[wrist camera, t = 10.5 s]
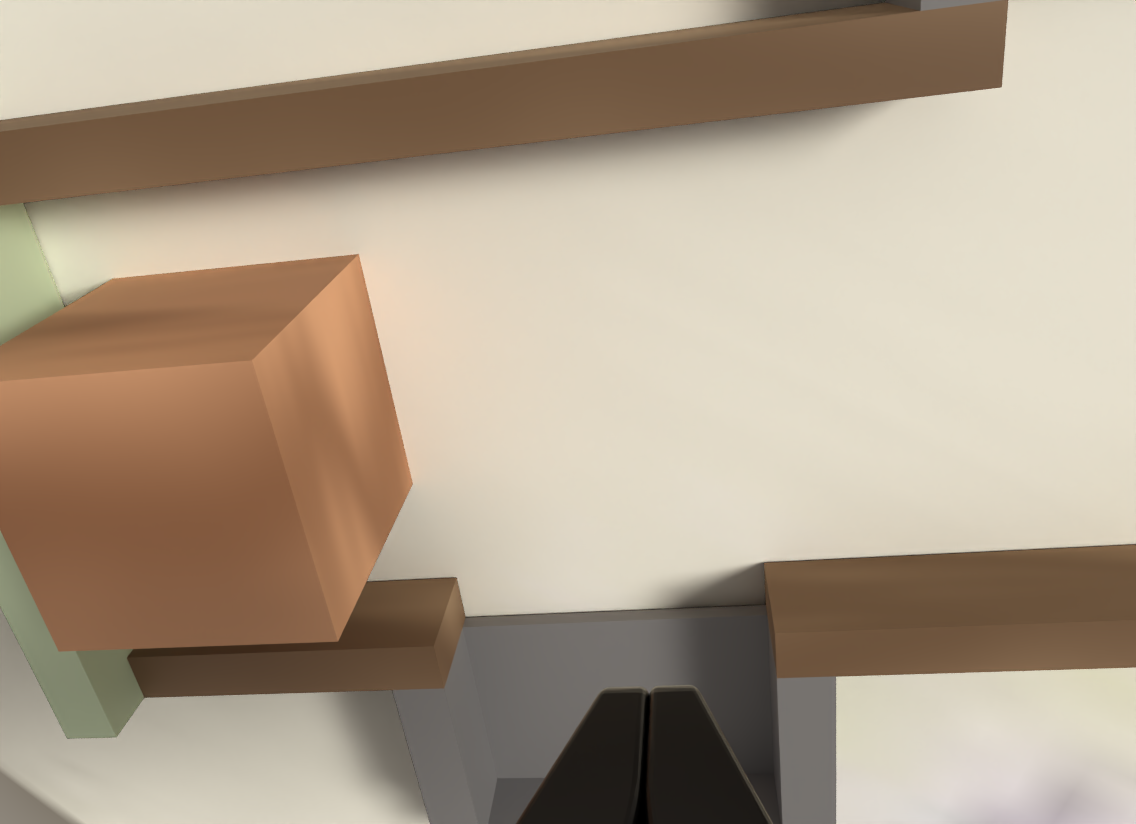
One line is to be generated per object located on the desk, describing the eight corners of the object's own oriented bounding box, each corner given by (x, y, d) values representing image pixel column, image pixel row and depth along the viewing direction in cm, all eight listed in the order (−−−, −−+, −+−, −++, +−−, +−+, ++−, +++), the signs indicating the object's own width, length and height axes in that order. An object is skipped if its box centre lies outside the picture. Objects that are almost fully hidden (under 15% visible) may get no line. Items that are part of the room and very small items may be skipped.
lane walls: (1872, 558, 15) (2034, 640, 13) (191, 629, 19) (144, 697, 18) (2328, -190, 10) (2671, -219, 9) (-10, 121, 15) (-102, 144, 13)
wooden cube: (413, 481, 17) (337, 641, 13) (193, 495, 18) (58, 651, 14) (360, 252, 15) (251, 359, 11) (114, 276, 16) (-70, 386, 12)
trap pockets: (1275, 789, 18) (1340, 878, 17) (464, 799, 21) (445, 878, 19) (1709, -665, 9) (1955, -809, 8) (171, -344, 12) (84, -397, 10)
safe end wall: (191, 629, 19) (116, 736, 17) (149, 630, 20) (67, 738, 17) (-10, 121, 15) (-158, 159, 12) (-64, 129, 15) (-224, 167, 12)
